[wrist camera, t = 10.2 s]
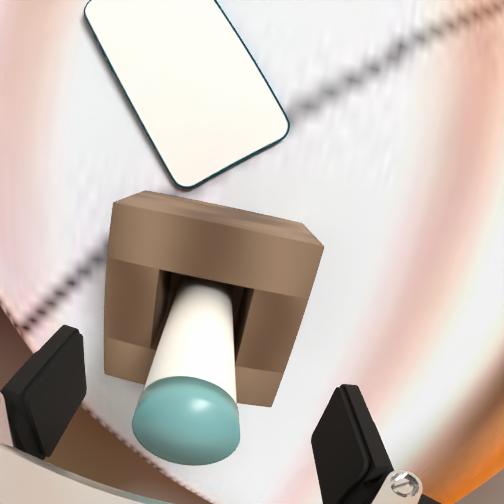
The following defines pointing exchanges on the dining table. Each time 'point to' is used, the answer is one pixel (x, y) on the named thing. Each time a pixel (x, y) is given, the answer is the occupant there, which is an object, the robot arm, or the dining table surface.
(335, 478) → the robot arm
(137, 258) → the socket block
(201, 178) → the smartphone
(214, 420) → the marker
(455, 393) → the dining table surface
